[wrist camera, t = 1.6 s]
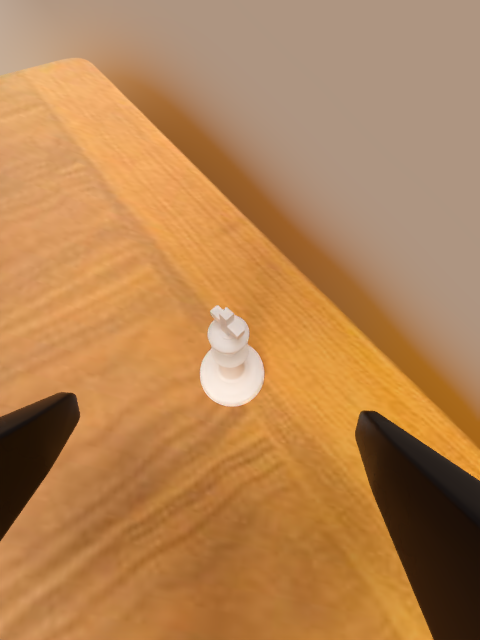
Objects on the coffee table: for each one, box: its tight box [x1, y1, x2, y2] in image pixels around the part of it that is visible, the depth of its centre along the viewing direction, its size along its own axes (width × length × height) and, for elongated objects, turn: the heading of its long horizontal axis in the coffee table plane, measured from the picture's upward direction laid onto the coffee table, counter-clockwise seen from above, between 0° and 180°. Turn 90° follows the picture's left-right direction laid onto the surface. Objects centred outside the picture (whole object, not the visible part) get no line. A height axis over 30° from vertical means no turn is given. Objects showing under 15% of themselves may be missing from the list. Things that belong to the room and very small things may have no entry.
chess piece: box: [200, 305, 264, 407], centre depth 14 cm, size 5×5×10 cm
